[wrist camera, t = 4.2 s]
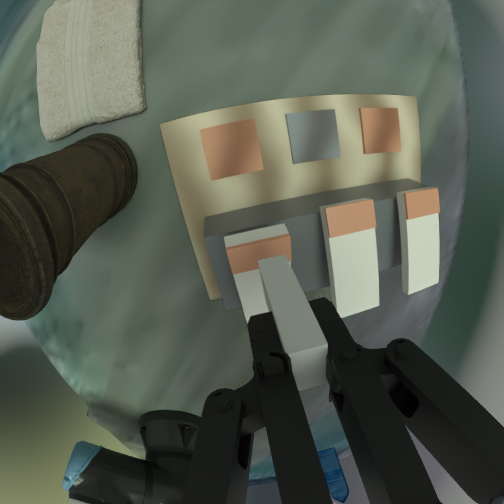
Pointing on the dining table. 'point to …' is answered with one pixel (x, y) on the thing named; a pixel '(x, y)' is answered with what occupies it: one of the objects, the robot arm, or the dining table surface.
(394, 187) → the switch housing
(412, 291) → the switch
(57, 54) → the washcloth
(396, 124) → the switch board
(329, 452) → the blue food package
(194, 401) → the dining table surface
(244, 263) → the switch
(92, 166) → the container
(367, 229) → the switch middle
